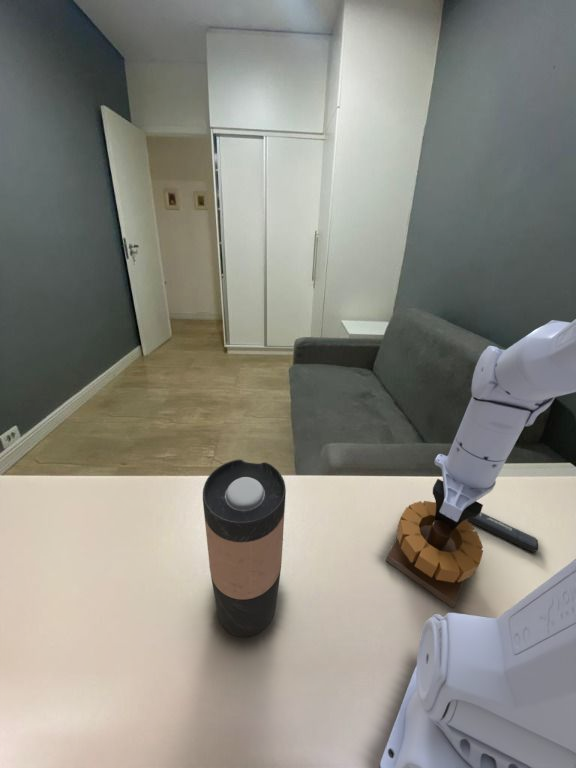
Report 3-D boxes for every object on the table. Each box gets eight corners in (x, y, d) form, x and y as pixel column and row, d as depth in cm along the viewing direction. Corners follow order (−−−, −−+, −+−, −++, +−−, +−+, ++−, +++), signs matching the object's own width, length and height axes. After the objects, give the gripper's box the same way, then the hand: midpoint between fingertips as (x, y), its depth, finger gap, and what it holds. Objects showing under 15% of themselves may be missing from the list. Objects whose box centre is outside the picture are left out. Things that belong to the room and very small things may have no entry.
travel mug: (236, 658, 33) (228, 542, 23) (203, 596, 38) (186, 480, 28) (291, 608, 37) (304, 493, 27) (255, 559, 42) (256, 447, 32)
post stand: (452, 608, 38) (471, 578, 35) (385, 560, 43) (396, 529, 40) (469, 555, 44) (487, 526, 41) (409, 519, 49) (420, 489, 46)
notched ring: (465, 600, 36) (472, 590, 35) (385, 547, 42) (389, 536, 40) (483, 539, 43) (489, 529, 42) (412, 500, 48) (416, 490, 47)
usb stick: (535, 542, 47) (539, 536, 46) (535, 556, 45) (540, 549, 44) (467, 510, 51) (470, 504, 51) (464, 521, 50) (467, 515, 49)
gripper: (461, 408, 44) (434, 476, 51) (428, 459, 35) (399, 535, 41) (518, 429, 41) (481, 499, 47) (499, 493, 31) (455, 571, 37)
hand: (446, 518), depth 44 cm, fingers open, 3 cm apart
